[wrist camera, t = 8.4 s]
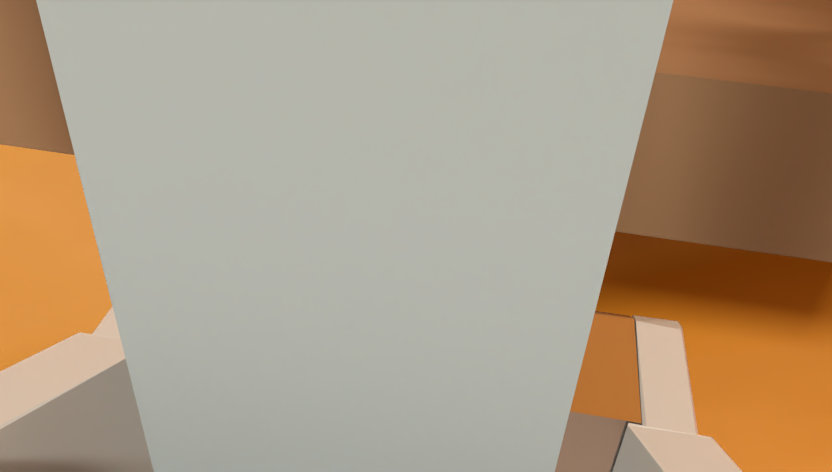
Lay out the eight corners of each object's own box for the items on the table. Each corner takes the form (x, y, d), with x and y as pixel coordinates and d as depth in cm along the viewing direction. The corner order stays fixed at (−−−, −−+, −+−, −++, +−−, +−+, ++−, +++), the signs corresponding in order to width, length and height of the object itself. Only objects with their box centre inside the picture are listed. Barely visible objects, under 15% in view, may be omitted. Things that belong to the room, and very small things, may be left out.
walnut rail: (970, 1, 15) (1105, 125, 11) (904, 137, 17) (1000, 286, 13) (91, -91, 17) (-59, -13, 13) (116, 40, 19) (-10, 142, 15)
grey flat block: (410, -401, 11) (-100, -555, 3) (635, -389, 10) (806, -522, 2) (385, 341, 19) (243, 830, 11) (508, 360, 19) (452, 878, 11)
